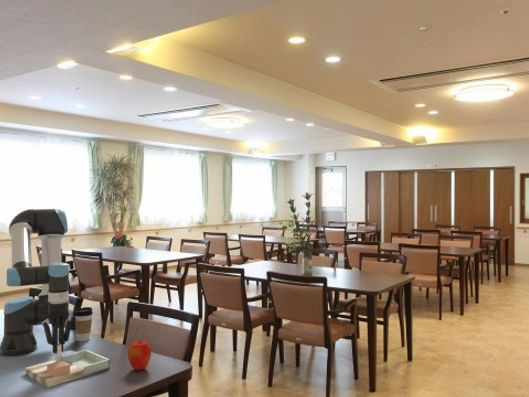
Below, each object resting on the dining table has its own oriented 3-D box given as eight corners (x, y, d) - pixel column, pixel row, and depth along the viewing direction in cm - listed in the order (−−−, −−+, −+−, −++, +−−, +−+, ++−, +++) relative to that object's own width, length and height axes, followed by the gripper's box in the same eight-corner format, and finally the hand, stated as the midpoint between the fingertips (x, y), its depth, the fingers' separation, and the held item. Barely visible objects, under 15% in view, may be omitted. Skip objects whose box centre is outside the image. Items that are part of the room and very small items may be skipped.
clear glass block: (56, 361, 187) (56, 353, 187) (70, 357, 191) (70, 350, 191) (63, 364, 183) (63, 356, 183) (77, 360, 187) (78, 353, 188)
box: (60, 364, 190) (60, 356, 190) (85, 357, 198) (85, 349, 198) (84, 376, 178) (84, 367, 178) (109, 368, 186) (109, 359, 186)
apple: (122, 370, 184) (122, 340, 184) (140, 364, 191) (140, 335, 191) (138, 375, 178) (138, 344, 178) (155, 368, 186) (156, 339, 186)
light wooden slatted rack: (25, 374, 179) (25, 367, 179) (60, 364, 190) (60, 358, 190) (48, 387, 167) (48, 380, 167) (84, 376, 178) (84, 369, 178)
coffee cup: (96, 338, 225) (96, 308, 225) (81, 343, 218) (81, 311, 218) (85, 336, 229) (85, 306, 229) (70, 340, 222) (70, 309, 222)
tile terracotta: (46, 372, 174) (47, 365, 174) (62, 368, 179) (62, 360, 179) (54, 376, 170) (54, 368, 170) (70, 372, 175) (70, 364, 175)
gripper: (46, 306, 177) (45, 367, 177) (78, 300, 187) (78, 358, 187) (37, 303, 182) (37, 362, 182) (69, 297, 192) (69, 354, 192)
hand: (57, 360), depth 184 cm, fingers closed
